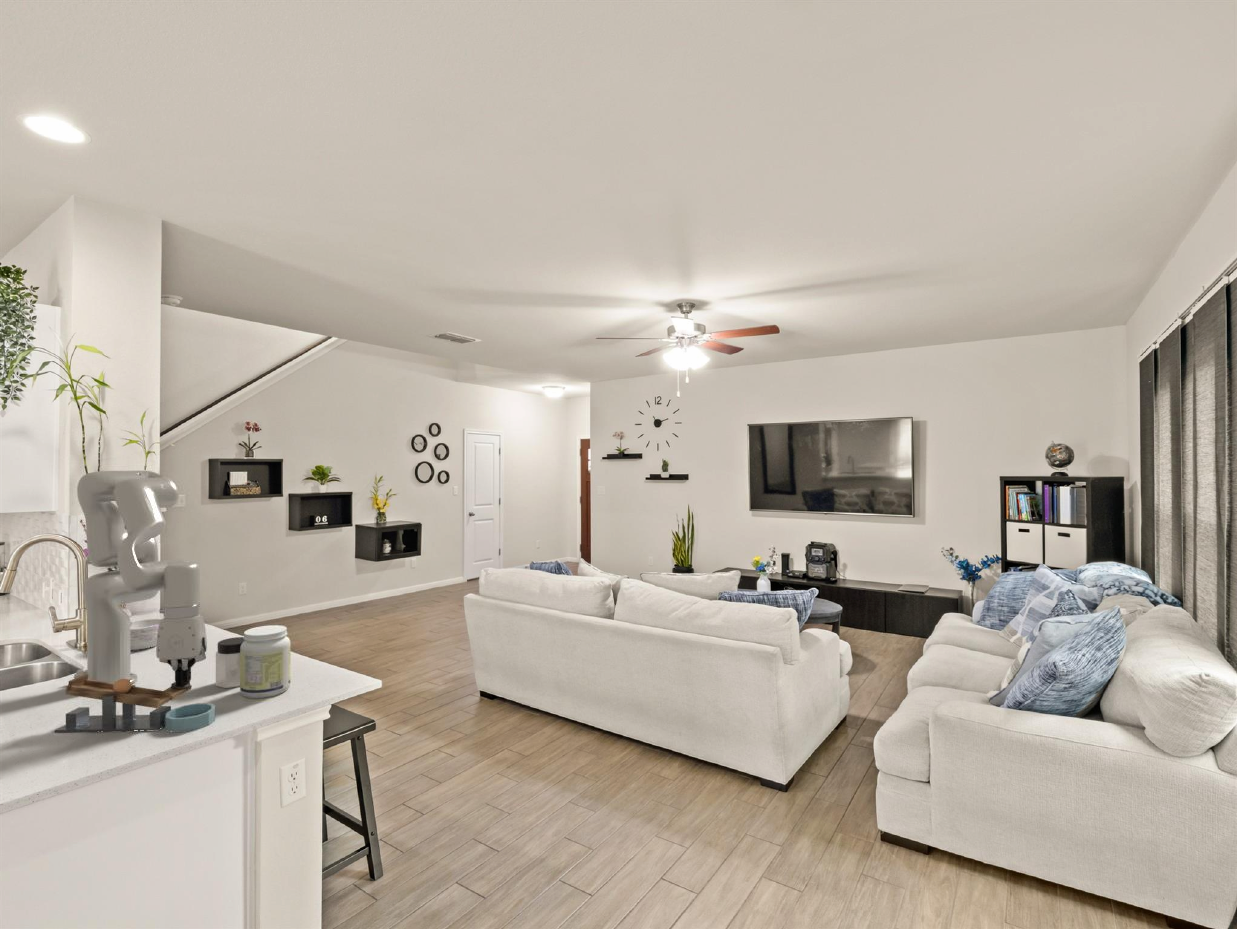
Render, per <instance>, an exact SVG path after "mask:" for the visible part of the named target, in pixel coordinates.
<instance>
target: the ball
mask: <svg viewBox="0 0 1237 929" xmlns="http://www.w3.org/2000/svg"><path fill="white" fill-rule="evenodd" d="M131 685H132V684H131V682H130V680H128V679H120V680H118V681H116V682H115V683H114V685H113V690H114V692H118V693H126V692H128V691H129V690H130V688H131Z"/></svg>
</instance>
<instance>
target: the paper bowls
mask: <svg viewBox="0 0 1237 929" xmlns="http://www.w3.org/2000/svg"><path fill="white" fill-rule="evenodd" d="M161 619H162V618H147V619H139V620H138V619H137V620H132V621H131V620H130V651H139V650H140V649H141V650H145V649H146V648H147V649H150V647H151V648H153V647H156V644H157V634H158V628H159V624H160V620H161ZM147 649H146V650H147ZM141 650H140V651H141Z"/></svg>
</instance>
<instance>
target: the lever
mask: <svg viewBox="0 0 1237 929" xmlns="http://www.w3.org/2000/svg"><path fill="white" fill-rule="evenodd" d="M88 676H89V674H84V675H82V676H79V677H77V678H73V679H70V680H68V685H66V689H65V694H64V695H68V696H74V697H75V696H76V697H80V698H87V699H92V700H93V699H94V700H101V701H102V696H105V695H116V703H120V704H122V703H125V704H132V705H136V706H138V707H144V708H145V707H147V708H152V709H157V708H158V707H160V706H164V705H165V704H167V703H168V702H170V701H173V700H175V699H177V698H179V697H181V696H182V695H184V694H185V693H187V692H189V691H190V690H192V684H191V682H190V683H188V684H187V685H185V686H176V682H175V681H174V682H173V683H171V685H170V687H168V688H166V689H164V690H158V689H153V688H147V687H140V686H135V687H134V686H131V688H130V690H129V691H128V692H126V693H118V692H114V690H113V685H114V683H109V682H102V681H96V680H89V679H88Z"/></svg>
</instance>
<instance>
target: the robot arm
mask: <svg viewBox="0 0 1237 929" xmlns="http://www.w3.org/2000/svg"><path fill="white" fill-rule="evenodd" d="M76 490H77V491H76V493H77V494H76V495H77V499H78V502H79V505H80V508H81V510H82V513H83V515H84V519H85V529H86V531H85V532H86V547H87V548H86V549H87V558H88V561H89V563H90V565H92V566H93V567H96V568H108V567H117V568H118V570H113V571H105V572H104V571H103V572H99V573H96V574H93V575H92V576H89V577H88V578H87V579H86V580H85V581H84V582H83V584H82V595H83V600H84V605H85V611H86V626H87V627H86V628H87V629H86V632H87V633H86V634H87V635H86V636H87V638H86V639H87V642H86V643H87V646H86V647H87V649H86V650H87V653H86V654H87V655H86V656H87V657H86V659H87V663H86V664H87V666H86V667H87V669H78V670H76V672H75V674H74V675H73V679H75V678H77V677H79V676H82V675H84V674H89V676H88V679H89V680H96V681H102V682H109V683H115V682H116V681H118V680H120V679H128V680H130V682H131V685H133V684H134V683H136V682H137V681H138V675H137V674H136V673H134V672H133V673H131V669H132V668H131V663H132V662H131V659H132V658H131V657H132V656H131V650H130V622H131V618H130V616H129V614H128V613H127V612H125V610H124V609H123V608H121V605H124V604H129V603H136V602H142V601H147V600H150V599H153V598H154V597H156V596H157V594H158V593H159V591H163V607H161V608H160V609H159V610H158V612H159V614H163V617H164V618H160V619H161V620H160V624H159V628H158V634H157V644H156V646H155V648H156V649H155V650H156V651H155V654H156V655H155V656H156V658H157V659H159V660H158V661H159V663H162V664H163V663H164V664H167V665H168V666H170V667H171V669H172V671H174V682H176V686H185V685H187V684H188V683H190V684H191V680H192V667H194V665H195V664H196V663H199V662H203V661H205V660H206V659H207V656H206V655H207V654H206V652H207V647H208V646H207V644H208V640H207V631H206V625H205V621H204V620H205V619H204V617H203V615H201V601H200V600H201V599H200V598H201V597H200V594H201V591H200V590H201V588H200V587H201V585H200V582H201V581H200V566H199V564H198V563H196V562H192V561H189V562H188V561H186V560H184V559H180V558H178V559H177V558H176V559H168V560H159V548H158V543H157V540H156V537H158V536H159V535H161V534H163V533H164V531H165V530H166V528H167V522H166V520H165V517H164V515H163V512H162V509H163V508H171V507H174V506H175V505H176V504H177V502H178V500H179V496H180V495H179V494H180V493H179V489H178V487H177V485H176V483H175V482H174V481H173V479H171V478H170V477H167V476H165V475H162V474H159V473H157V472H154V471H151V470H100V471H99V470H98V471H92V472H88V473H86V474H84V475H82V477H80V478H79V480H78V482H77V488H76ZM113 502H115V503H116V504H114V503H113Z"/></svg>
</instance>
